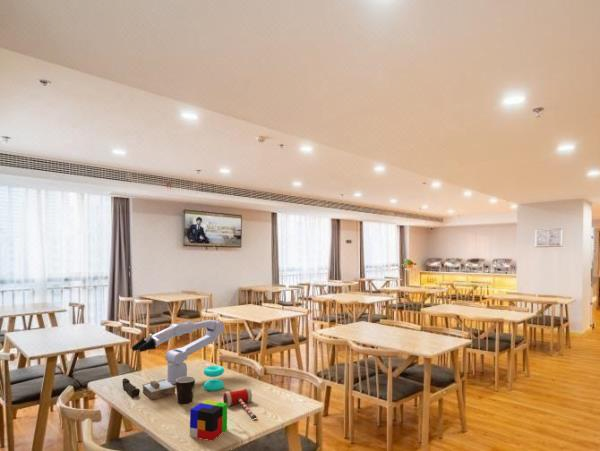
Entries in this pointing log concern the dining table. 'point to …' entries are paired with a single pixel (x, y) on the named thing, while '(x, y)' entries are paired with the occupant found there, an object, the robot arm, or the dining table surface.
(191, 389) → the coffee mug
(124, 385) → the dark brown wooden log
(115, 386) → the dining table surface
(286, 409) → the dining table surface
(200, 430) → the puzzle toy
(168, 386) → the lid
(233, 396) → the toy hammer
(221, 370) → the donuts
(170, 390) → the wooden tray
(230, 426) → the dining table surface
